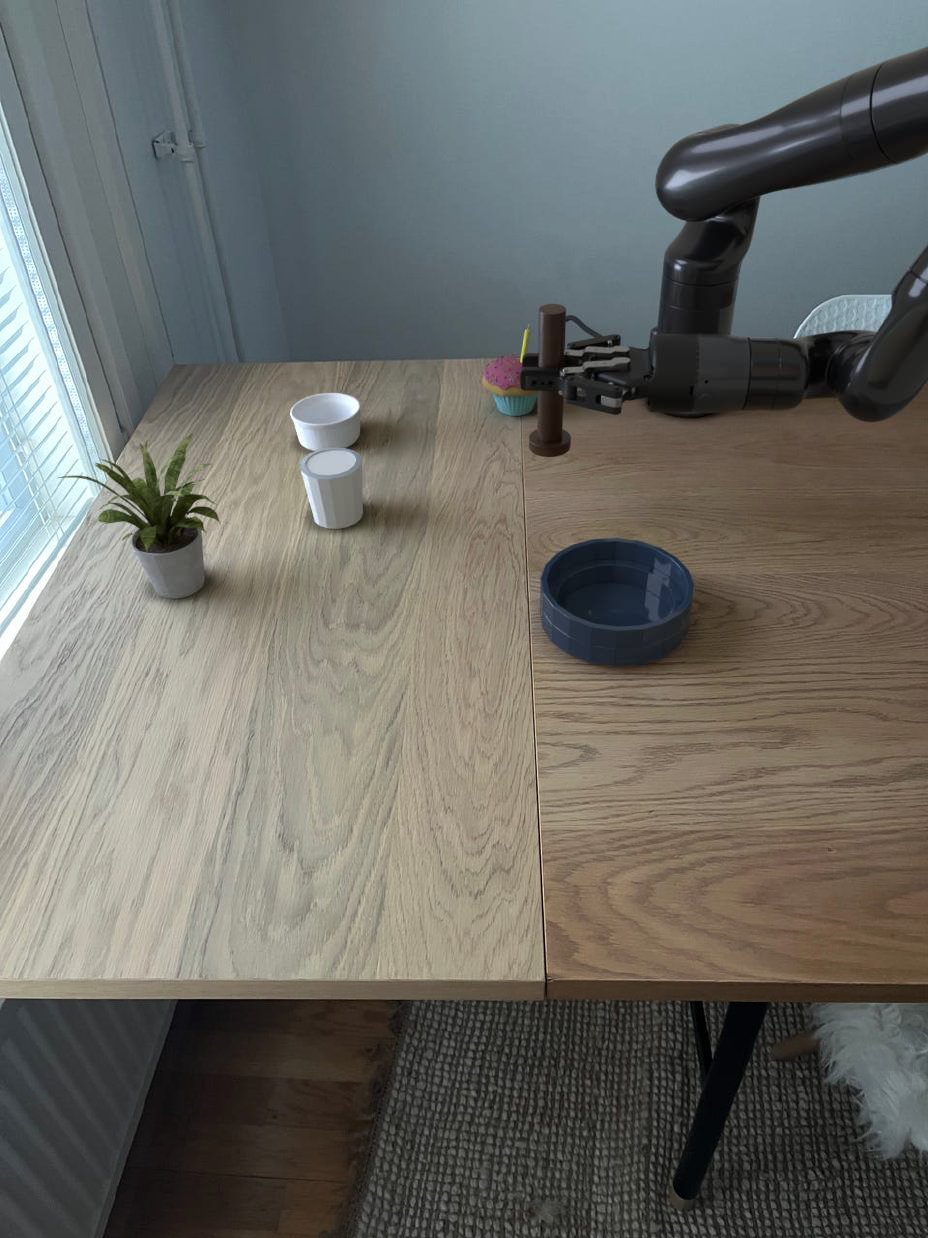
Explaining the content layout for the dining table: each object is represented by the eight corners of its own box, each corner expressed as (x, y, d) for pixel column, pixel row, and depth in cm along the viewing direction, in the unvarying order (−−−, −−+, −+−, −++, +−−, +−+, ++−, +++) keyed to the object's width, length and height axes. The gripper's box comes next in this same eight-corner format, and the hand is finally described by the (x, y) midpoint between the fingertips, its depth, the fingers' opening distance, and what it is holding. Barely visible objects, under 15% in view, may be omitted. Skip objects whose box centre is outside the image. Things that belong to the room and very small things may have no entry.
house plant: (107, 649, 92) (55, 507, 82) (90, 571, 102) (42, 436, 91) (251, 608, 96) (219, 468, 86) (222, 537, 106) (190, 404, 96)
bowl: (510, 617, 94) (510, 577, 90) (612, 560, 100) (615, 521, 97) (614, 693, 85) (618, 652, 82) (718, 626, 91) (725, 585, 88)
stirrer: (520, 446, 101) (520, 308, 91) (550, 432, 103) (553, 296, 93) (548, 461, 98) (551, 321, 89) (579, 447, 100) (585, 308, 91)
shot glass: (377, 503, 110) (371, 450, 106) (353, 536, 105) (346, 482, 101) (324, 495, 112) (316, 442, 108) (297, 526, 107) (288, 473, 103)
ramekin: (282, 449, 121) (277, 418, 118) (316, 417, 127) (311, 387, 124) (344, 460, 118) (340, 429, 115) (375, 427, 124) (372, 397, 122)
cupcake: (555, 399, 129) (558, 313, 121) (532, 428, 123) (533, 339, 115) (497, 389, 132) (496, 304, 124) (472, 417, 126) (469, 329, 118)
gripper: (695, 308, 96) (525, 308, 98) (707, 369, 86) (516, 367, 88) (687, 377, 101) (525, 375, 103) (697, 442, 91) (517, 439, 92)
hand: (522, 371), depth 95 cm, fingers closed on stirrer, 2 cm apart
